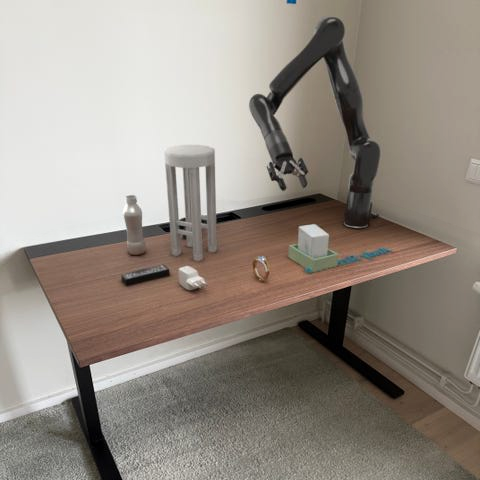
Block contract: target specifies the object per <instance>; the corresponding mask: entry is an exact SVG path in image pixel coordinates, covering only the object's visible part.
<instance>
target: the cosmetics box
mask: <svg viewBox="0 0 480 480" xmlns="http://www.w3.org/2000/svg"><path fill="white" fill-rule="evenodd" d="M329 240H330V234H329V233H328V232H326V231H325V230H324V229H322V228H321V227H320V226H319V225H317V224H316V223H312V224H305V225H299V226H298V237H297V244H298V250H300V251H302V252H303V253H305V254H307V255H308V256H310V257H312V258H313V259H316V258H321V257H325V256H327V252H328V249H329Z"/></svg>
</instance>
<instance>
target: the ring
mask: <svg viewBox="0 0 480 480" xmlns="http://www.w3.org/2000/svg"><path fill="white" fill-rule="evenodd" d="M258 262H259V263H260V264H262V266H263V268H264V277H262V276H260V275H259V272H258V269H257V268H258V267H257V264H258ZM252 271H253V273H254V275H255V277H256V278H257V279H258V281H259V282H260V281H261V282H264V281H266V280H267V279H268V277H269V275H270V265H269V263H268V260H267V258H266V257H265V256H264V255H261V256H260V255H258V256H257V258H256V259H254V260H252Z"/></svg>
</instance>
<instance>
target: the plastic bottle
mask: <svg viewBox="0 0 480 480" xmlns="http://www.w3.org/2000/svg"><path fill="white" fill-rule="evenodd" d="M124 199H125V206H124V207H123V210H122V216H123V221H124V224H125V228H126V249H127V252H128V253H129V254H130V255H141V254H144V253H145V252H146V250H147V244H146V240H145V236H144V231H143V211H142V208H141V207H140V205H139V204H138V200H137V195H134V194H130V195H129V194H128V195H125V196H124Z"/></svg>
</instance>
